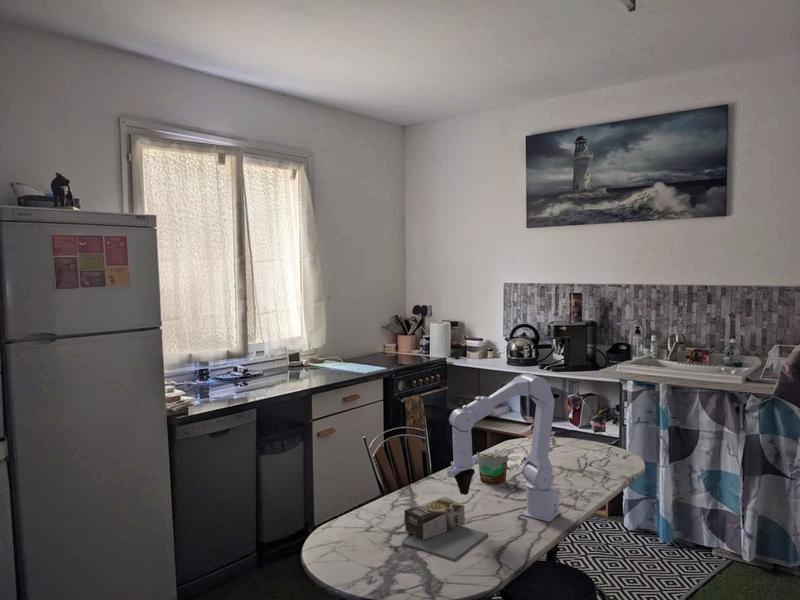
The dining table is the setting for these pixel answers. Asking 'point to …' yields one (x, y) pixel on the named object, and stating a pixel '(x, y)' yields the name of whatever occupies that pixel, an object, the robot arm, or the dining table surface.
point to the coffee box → (434, 518)
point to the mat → (448, 542)
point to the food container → (492, 468)
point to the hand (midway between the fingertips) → (464, 493)
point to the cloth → (513, 464)
